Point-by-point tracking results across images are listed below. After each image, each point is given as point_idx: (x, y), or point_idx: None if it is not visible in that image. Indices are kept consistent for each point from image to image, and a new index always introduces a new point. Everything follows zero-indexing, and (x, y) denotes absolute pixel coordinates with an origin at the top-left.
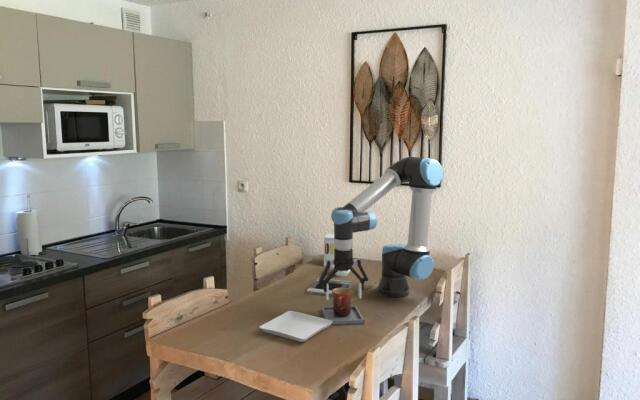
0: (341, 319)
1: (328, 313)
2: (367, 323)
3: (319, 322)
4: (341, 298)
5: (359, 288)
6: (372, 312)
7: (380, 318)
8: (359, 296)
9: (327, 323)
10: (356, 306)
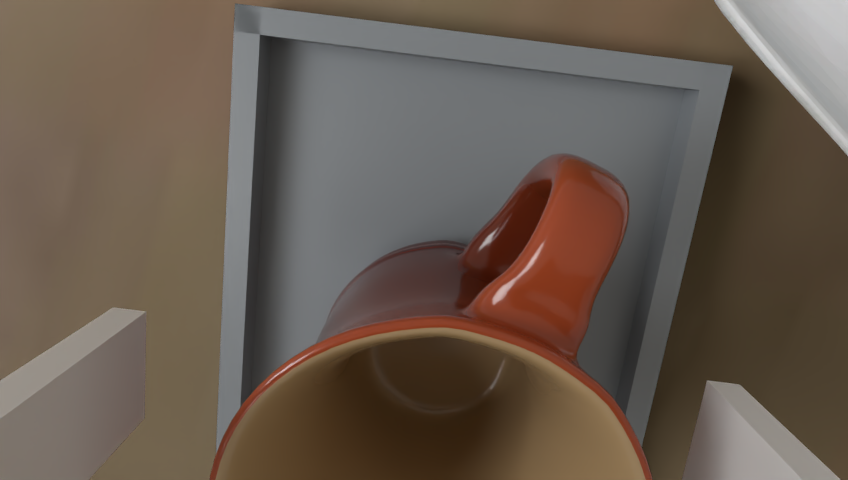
0: (491, 182)
1: None
2: (211, 30)
3: (832, 81)
4: (546, 214)
5: (20, 419)
6: None
7: (23, 150)
8: (128, 333)
9: (755, 2)
10: None
